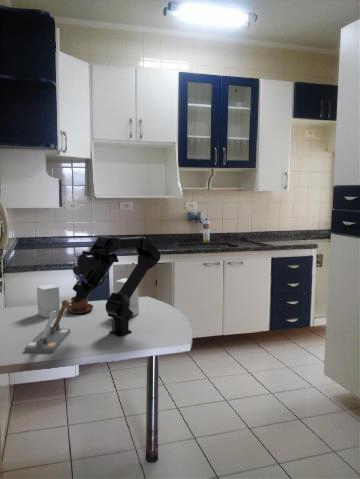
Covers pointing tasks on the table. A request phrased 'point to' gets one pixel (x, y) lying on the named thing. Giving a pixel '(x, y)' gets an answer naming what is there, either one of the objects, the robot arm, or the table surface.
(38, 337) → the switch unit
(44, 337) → the steel lever
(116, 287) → the skincare box
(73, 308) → the cup and saucer
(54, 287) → the supplement box
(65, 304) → the walnut lever
